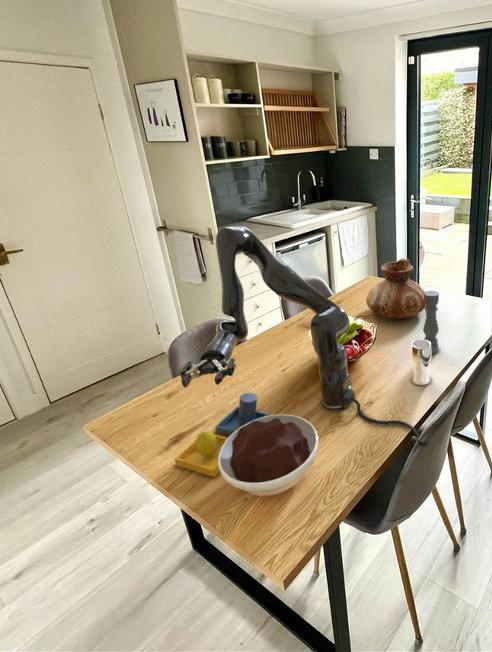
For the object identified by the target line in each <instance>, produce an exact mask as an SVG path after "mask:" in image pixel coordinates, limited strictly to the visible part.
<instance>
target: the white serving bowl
mask: <svg viewBox="0 0 492 652" xmlns="http://www.w3.org/2000/svg"><path fill="white" fill-rule="evenodd" d="M227 438H228V439H227V440H226V441H225V442H224V444H223V446H222V447H221V450H220V452H219V456H218V468H219V473H220V476H221V477H222V478H223V479H224V481H226V482H227V484H229V485H230V486H232V487H234V488H235V489H239V490H241V491H244V492H246V493H248V494H250V495H253V496H257V497H271V496H276V495H279V494H281V493H283V492H286V491H288V490H289V489H291V488H293V487H294V486H295V485H296V484H298V482H300V480H301V479H302V478H303V477H304V475H305V474H306V472H307V470H308V469H309V468H310V467H311V465H312V464H313V462H314V460H315V459H316V456H317V454H318V451H319V446H320V440H319V439H320V438H319V434H318V431H317V430H316V428H315V426H313V424H312V423H311V422H310V421H308V420H307V419H305V418H303V417H301V416H297V415H293V414H279V413H278V414H271V415H270V414H269V416H265V417H262V418H259V419H256V420H253V421H251V422H249V423H247V424H245V425H243V426H242V427H240V428H239V429H237V430H236V431H235V432H234V433H232V434H231V435H228V437H227Z"/></svg>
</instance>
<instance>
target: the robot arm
mask: <svg viewBox="0 0 492 652" xmlns="http://www.w3.org/2000/svg"><path fill="white" fill-rule="evenodd" d="M215 249H216V255H217V256H216V257H217V261H218V269H219V274H220V280H221V281H220V282H221V312H222V314H223V315H225V316H228V317H231V318H232V319H221V320H219V321H218V322H217V324H216V326H215V336H214V338H213V339H212V340H211V341H210V342H209V344H208V345H207V346H206V348H205V349H204V352H203V353H202V355H201V356H200V360H198V361H197V362H196V363H192V361H187V362H186V363H185V364H184V366H183V367H182V368H181V369H180V371H179V376H180V379H181V386H182V387H183V388H188V386H189V385H190V384H191V382H192V380H195V378H197V379H198V378H200V377H202V376H205V375H214V374H216V375H215V376H214V383H215V385H216V386H217V385H220V383H222V382H223V380H224V379H225V378H226V377H227V376H228V377H232V376H233V375H234V373H235V371H236V367H237V363H236V359H235V358H234V357H232V355H233V351H234V350H235V347H236V346H237V343H238V342H242V341H244V340H246V339H247V338H248V335H249V326H248V322H247V319H246V315H245V309H244V307H245V306H244V305H245V291H244V290H245V289H244V287H243V284H242V281H241V280H240V278H239V275H238V273H237V269H236V258H237V256H238V255H239V256H240V255H244V256H246V257H247V258H248V259H250V260H251V261H252V262H253V263H254V264H255V265H256V266H257V268H258V270H259V273H260V276H261V279H262V281H263V283H264V284H265V285H266V286H267V288H268V289H270V290H271V291H272V292H273V293H274V294H275V295H276V296H278V297H279V298H281V299H282V300H284V301H285V300H286V301H288V302H290V303H293V304H297V305H299V306H303V307H305V308H307V309H309V310H310V311H311V312H313V313H314V314H315V315H313V316H312V318H311V319H310V324H309V325H310V326H309V327H310V328H309V329H310V334H311V341H312V347H313V351H314V352H315V354H316V357H317V364H318V365H317V366H318V375H319V383H320V391H321V403H322V405H323V407H325V408H326V409H328V410H340V409H346V408H347V407H348V406H349V407H350V406H351V404H352V403H354V404H356V411H357V413H358V415H360V417H361V418H362V419H364V420H365V421H367V422H369V423H370V422H371V423H373V424H377V425H401V426H404V427H406V428H408V429H409V430H410V431H411V432H412V433H413V434H414V436H415V438H416V439H417V440H418V438H419V437H420V438H421V436H420V435H419V433H418V431H417V430H416V428H414V427H413V426H412V425H411V424H409V423H407V422H404V421H401V420H378V419H374V418H371V417H368V416H366V415H365V414H364V413H363V412H362V410H361V404H360V402H359V401H358V400H357V399H356V394H355V390H353V387H352V386H353V385H352V376H351V374H350V373H349V369H348V355H347V348H346V346H345V345H344V344H342V343H340V342H338V340H337V339H338V338H337V337H339V336H340V335H342V334H343V333H344V332H346V331H347V330H348V328H349V327H350V324H351V323H350V319H349V315H348V314H347V312H346V311H345V309H343V308H342V307H341V306H339V305H338V304H337V303H335V302H334V301H332V300H331V299H330V298H328V297H326V296H325V295H324V294H322V293H321V292H319V291H318V290H317V289H316V288H314V287H313V286H312V285H311V284H310V283H308V282H307V281H306V280H305V279H303V278H302V277H301V276H300V274H298V273H297V272H296V271H295V270H294V269H293V268H291V267H290V266H289V265H288V264H286V262H284V261H282V259H281V258H279V256H277V255H276V254H275V253H274V252H272V251H271V250H270V249H269V248H268V247H267V246H266V245H265V244H264V242H263V241H262V240H261V239H260V238H259V237H258V236H257V235H256V234H255V233H254V232H253V231H252V230H251V229H250V228H248V227H246V226H244V225H233V226H224V227H221V228H219V229H218V230H217V232H216V235H215ZM231 357H232V358H231ZM419 444H420V445H424V441H423V440H422V442H421V443H419Z"/></svg>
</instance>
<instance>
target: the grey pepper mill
mask: <svg viewBox="0 0 492 652" xmlns="http://www.w3.org/2000/svg"><path fill="white" fill-rule="evenodd" d="M439 300H440V293H439V292H438V291H436V290H426V291H425V292H424V302H425V304H426V306H425V308H424V311H425V314H426V315H425V321H424V325H423V328H422V331H423V333H424V338H423V339H424V340H428V341H429V342H430V343H431V355H435V354H437V353H438V352H439V339H438V337H437V335H438V333H439V331H440V329H439V324H438V320H437V311H438V310H439V307H438V304H439Z"/></svg>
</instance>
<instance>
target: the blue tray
mask: <svg viewBox="0 0 492 652" xmlns="http://www.w3.org/2000/svg"><path fill="white" fill-rule="evenodd" d="M238 416H239V405H238V406H236V407H235V408H233V409H232V410H231V411H230V412H229V413H228V414H227V415H226V416H225V417H224V418H223V419H222V420H221V421H220V422H219V423H217V424H216V425H215V431H216V433H219V434H223V435H226V436H230V435H231V434H232V433H234V432H235V431H236V430H237V429H239V428H240V427H242V426H240V425H239V424H238ZM265 416H270V413H269V412H264V411H259V410H256V416H255V420H256V419H259V418H262V417H265Z"/></svg>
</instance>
